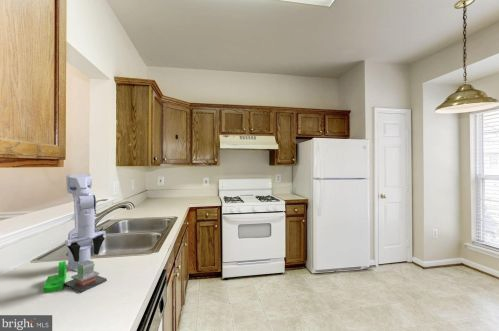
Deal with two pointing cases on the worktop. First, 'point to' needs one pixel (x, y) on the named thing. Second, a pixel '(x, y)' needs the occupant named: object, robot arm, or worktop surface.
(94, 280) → the dark grey rectangular tray
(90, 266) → the green-striped metal cube
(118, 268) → the worktop surface
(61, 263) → the mechanical part
